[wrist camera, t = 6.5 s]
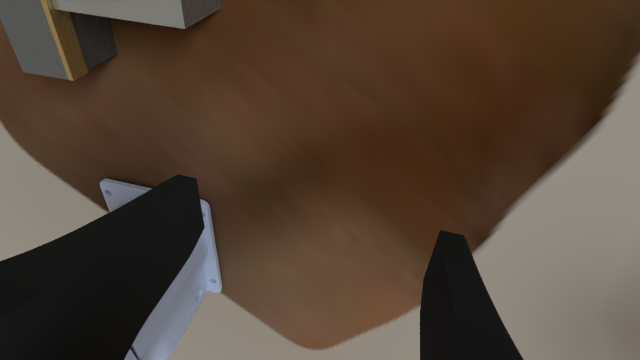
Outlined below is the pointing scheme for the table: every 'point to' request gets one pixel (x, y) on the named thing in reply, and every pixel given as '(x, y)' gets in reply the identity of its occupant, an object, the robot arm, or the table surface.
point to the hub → (145, 10)
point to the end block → (56, 38)
